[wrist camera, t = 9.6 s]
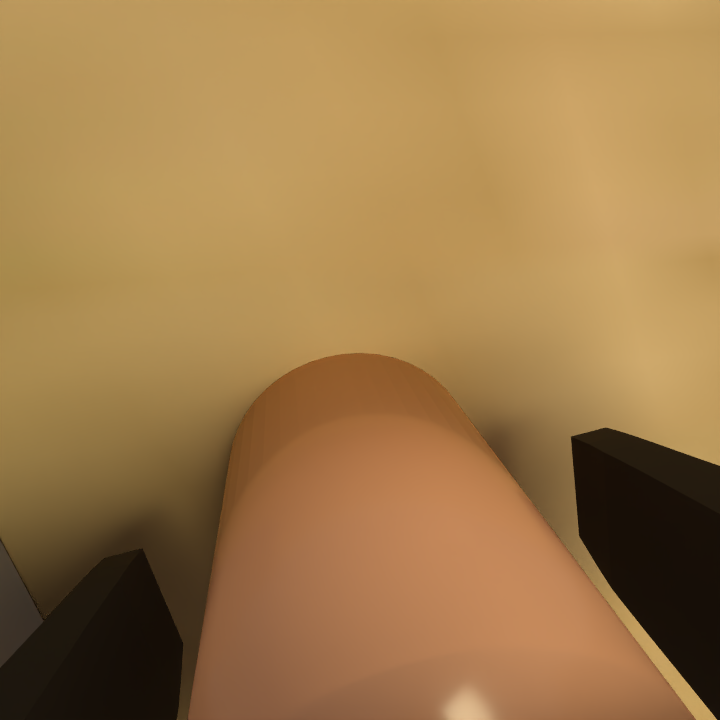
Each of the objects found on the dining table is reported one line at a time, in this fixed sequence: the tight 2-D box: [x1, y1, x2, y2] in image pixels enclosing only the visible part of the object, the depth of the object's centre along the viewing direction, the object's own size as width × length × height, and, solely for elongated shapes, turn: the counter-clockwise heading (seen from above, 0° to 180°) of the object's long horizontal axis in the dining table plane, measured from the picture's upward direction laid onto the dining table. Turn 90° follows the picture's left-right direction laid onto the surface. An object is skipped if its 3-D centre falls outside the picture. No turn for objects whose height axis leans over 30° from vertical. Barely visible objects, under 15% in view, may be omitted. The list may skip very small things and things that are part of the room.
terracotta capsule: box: [187, 353, 696, 720], centre depth 8 cm, size 5×5×7 cm
